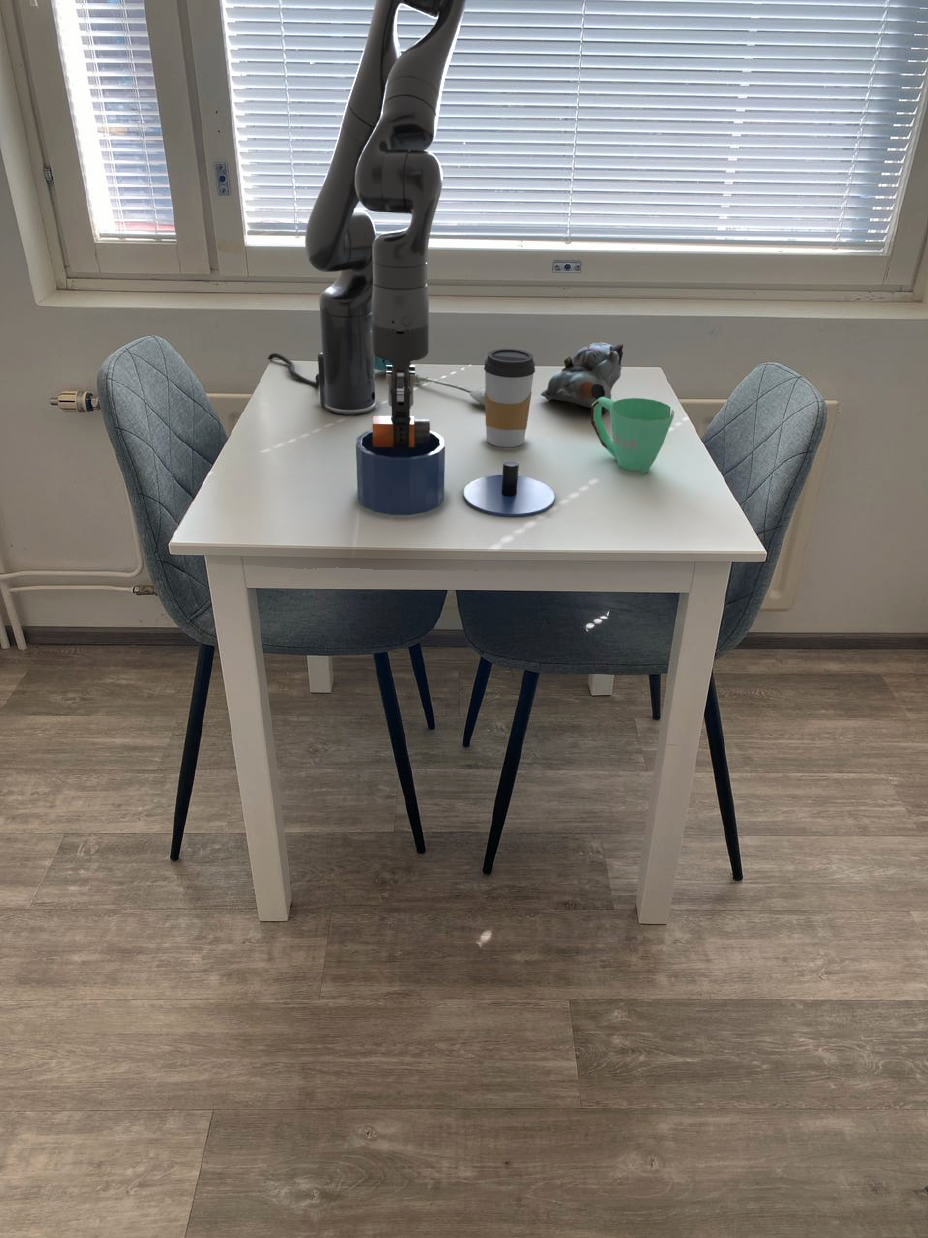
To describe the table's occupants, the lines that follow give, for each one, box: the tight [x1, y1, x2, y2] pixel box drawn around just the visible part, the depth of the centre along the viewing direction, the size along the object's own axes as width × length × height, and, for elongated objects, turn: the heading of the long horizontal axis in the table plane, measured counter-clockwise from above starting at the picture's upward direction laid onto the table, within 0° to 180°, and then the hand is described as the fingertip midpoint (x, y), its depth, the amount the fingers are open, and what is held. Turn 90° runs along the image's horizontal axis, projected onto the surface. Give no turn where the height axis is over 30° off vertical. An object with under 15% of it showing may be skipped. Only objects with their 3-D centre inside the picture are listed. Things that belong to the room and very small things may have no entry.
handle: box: [372, 415, 431, 447], centre depth 127 cm, size 8×3×3 cm, turn 93°
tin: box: [355, 428, 446, 516], centre depth 130 cm, size 13×13×9 cm
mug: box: [590, 397, 675, 475], centre depth 144 cm, size 15×10×10 cm
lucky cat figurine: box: [540, 342, 624, 415], centre depth 166 cm, size 15×12×14 cm
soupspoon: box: [415, 374, 485, 407], centre depth 171 cm, size 22×3×7 cm
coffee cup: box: [483, 348, 536, 448], centre depth 148 cm, size 8×8×15 cm
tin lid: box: [462, 459, 556, 518], centre depth 132 cm, size 14×14×6 cm
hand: (401, 441), depth 128 cm, fingers closed on handle, 3 cm apart
